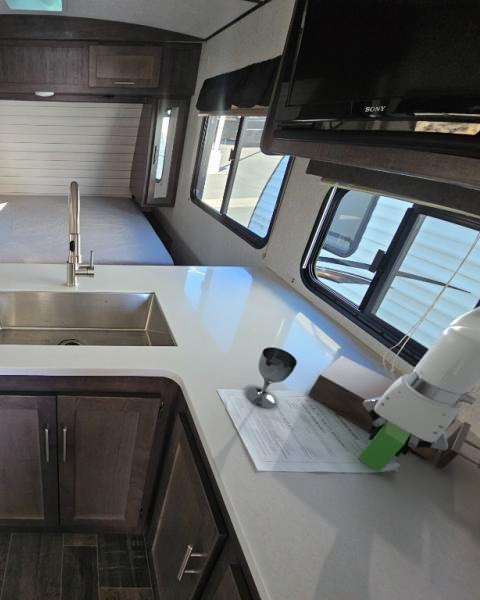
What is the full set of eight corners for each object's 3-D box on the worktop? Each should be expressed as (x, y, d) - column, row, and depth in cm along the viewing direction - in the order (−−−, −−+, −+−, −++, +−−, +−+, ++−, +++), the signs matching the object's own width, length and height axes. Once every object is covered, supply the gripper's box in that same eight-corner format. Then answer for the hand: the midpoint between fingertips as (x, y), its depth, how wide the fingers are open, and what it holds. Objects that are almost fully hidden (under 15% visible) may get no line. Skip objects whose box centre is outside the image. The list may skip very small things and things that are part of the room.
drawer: (483, 456, 76) (502, 440, 73) (471, 488, 69) (492, 472, 66) (382, 402, 89) (395, 386, 86) (365, 425, 83) (377, 408, 79)
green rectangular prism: (389, 456, 74) (414, 428, 69) (378, 472, 71) (404, 444, 66) (368, 443, 77) (391, 415, 72) (357, 458, 73) (380, 430, 68)
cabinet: (392, 409, 89) (408, 388, 84) (373, 434, 81) (390, 413, 77) (329, 375, 99) (341, 355, 95) (307, 395, 92) (319, 374, 88)
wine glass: (267, 413, 86) (288, 372, 78) (239, 394, 91) (256, 354, 83) (281, 400, 90) (302, 359, 82) (254, 383, 95) (271, 343, 88)
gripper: (501, 406, 58) (439, 465, 68) (387, 354, 70) (347, 411, 79) (494, 425, 54) (429, 485, 64) (375, 367, 66) (335, 425, 75)
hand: (384, 444), depth 71 cm, fingers closed on green rectangular prism, 4 cm apart
